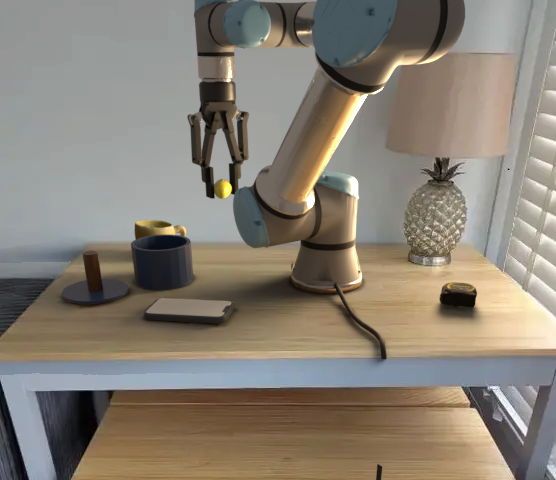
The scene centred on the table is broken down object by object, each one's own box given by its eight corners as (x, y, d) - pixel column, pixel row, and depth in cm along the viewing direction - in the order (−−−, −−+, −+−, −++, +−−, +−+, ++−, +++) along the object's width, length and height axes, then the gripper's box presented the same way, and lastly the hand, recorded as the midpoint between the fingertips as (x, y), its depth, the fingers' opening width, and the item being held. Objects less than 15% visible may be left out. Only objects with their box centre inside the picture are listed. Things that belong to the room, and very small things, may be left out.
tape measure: (437, 308, 120) (439, 290, 118) (442, 296, 125) (444, 279, 124) (473, 313, 118) (476, 295, 116) (476, 300, 123) (479, 283, 122)
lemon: (211, 200, 133) (210, 182, 131) (215, 192, 140) (214, 175, 138) (230, 201, 133) (229, 182, 131) (233, 193, 140) (233, 175, 138)
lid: (139, 297, 126) (134, 255, 122) (73, 312, 119) (66, 267, 115) (116, 279, 136) (110, 239, 132) (54, 291, 129) (46, 250, 125)
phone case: (142, 321, 116) (224, 326, 113) (141, 313, 115) (223, 317, 112) (159, 304, 123) (236, 308, 120) (158, 296, 123) (235, 300, 120)
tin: (203, 282, 134) (200, 244, 130) (149, 294, 128) (144, 254, 124) (178, 267, 143) (175, 231, 139) (127, 277, 137) (122, 240, 133)
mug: (126, 256, 144) (133, 213, 143) (134, 256, 154) (140, 217, 153) (178, 265, 145) (185, 223, 144) (182, 265, 155) (189, 226, 154)
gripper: (246, 78, 132) (249, 188, 143) (168, 81, 124) (177, 197, 135) (264, 79, 127) (266, 193, 138) (183, 82, 118) (192, 204, 129)
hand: (222, 195), depth 136 cm, fingers closed on lemon, 5 cm apart
